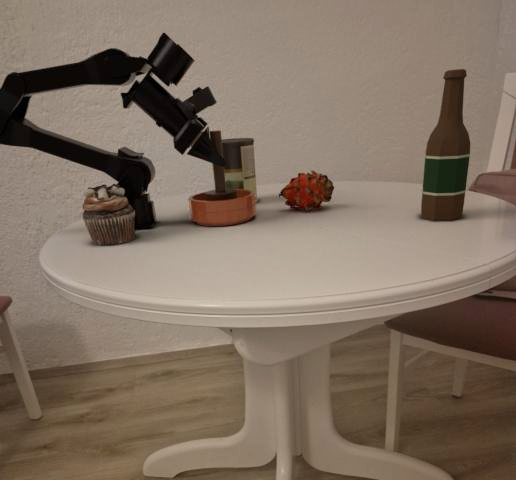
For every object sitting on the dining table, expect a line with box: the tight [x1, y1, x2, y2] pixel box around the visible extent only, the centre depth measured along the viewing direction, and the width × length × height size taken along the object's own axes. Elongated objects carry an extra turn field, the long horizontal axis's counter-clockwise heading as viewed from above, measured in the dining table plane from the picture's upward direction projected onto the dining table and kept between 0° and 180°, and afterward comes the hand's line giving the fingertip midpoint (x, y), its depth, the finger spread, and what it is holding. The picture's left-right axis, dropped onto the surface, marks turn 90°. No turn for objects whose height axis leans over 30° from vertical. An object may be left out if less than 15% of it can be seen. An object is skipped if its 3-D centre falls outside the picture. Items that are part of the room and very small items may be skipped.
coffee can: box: [211, 137, 258, 204], centre depth 114 cm, size 10×10×14 cm
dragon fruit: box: [278, 169, 335, 212], centre depth 103 cm, size 8×8×12 cm
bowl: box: [187, 189, 257, 227], centre depth 100 cm, size 14×14×5 cm
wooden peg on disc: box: [204, 130, 237, 201], centre depth 96 cm, size 6×6×13 cm
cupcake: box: [81, 183, 136, 246], centre depth 90 cm, size 10×10×10 cm
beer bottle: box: [420, 68, 471, 222], centre depth 85 cm, size 8×8×24 cm
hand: (225, 164), depth 96 cm, fingers closed on wooden peg on disc, 2 cm apart
